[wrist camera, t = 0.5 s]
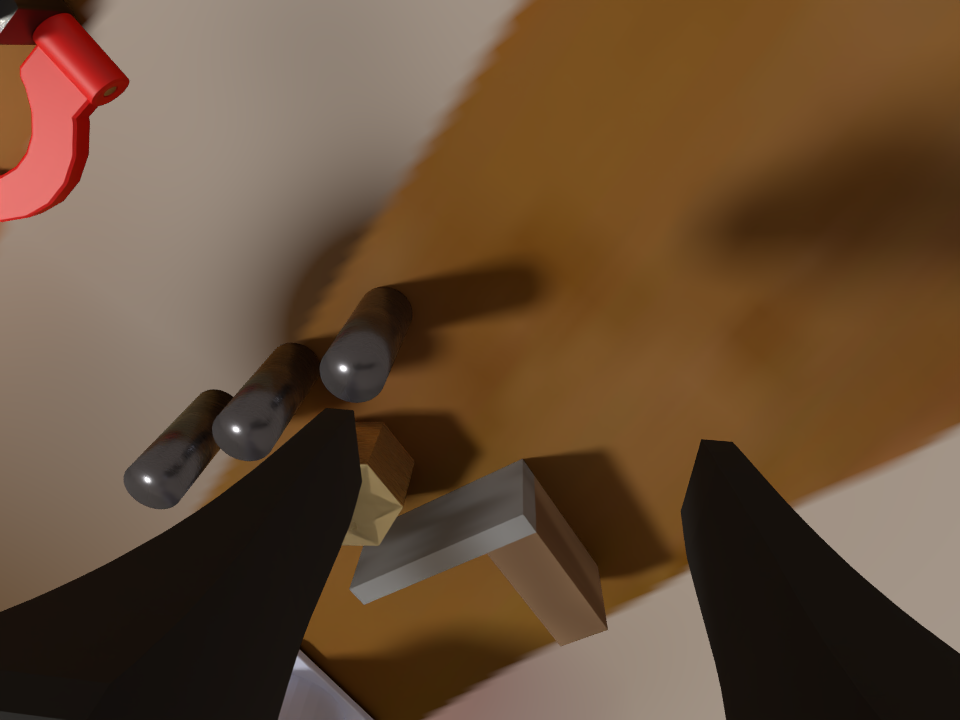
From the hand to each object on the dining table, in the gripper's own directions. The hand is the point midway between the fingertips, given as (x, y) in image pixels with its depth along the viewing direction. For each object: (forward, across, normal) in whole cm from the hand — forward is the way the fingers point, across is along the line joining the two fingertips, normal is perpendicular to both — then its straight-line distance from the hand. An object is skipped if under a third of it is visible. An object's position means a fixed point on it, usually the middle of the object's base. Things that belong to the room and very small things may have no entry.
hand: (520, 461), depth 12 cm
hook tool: (+9, +1, +14) cm, 16 cm away
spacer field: (+9, +8, +7) cm, 14 cm away
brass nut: (+9, +7, +9) cm, 15 cm away
